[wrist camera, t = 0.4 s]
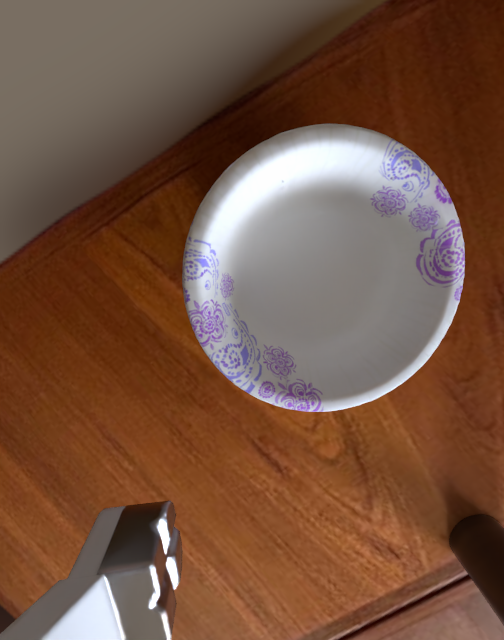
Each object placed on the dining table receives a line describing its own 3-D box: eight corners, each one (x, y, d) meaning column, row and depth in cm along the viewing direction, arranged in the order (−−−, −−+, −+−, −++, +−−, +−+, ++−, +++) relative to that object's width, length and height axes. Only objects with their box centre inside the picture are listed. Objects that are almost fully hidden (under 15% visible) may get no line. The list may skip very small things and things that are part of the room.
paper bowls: (442, 245, 25) (533, 248, 18) (316, 400, 28) (347, 462, 20) (280, 107, 23) (303, 41, 15) (156, 292, 25) (121, 316, 18)
